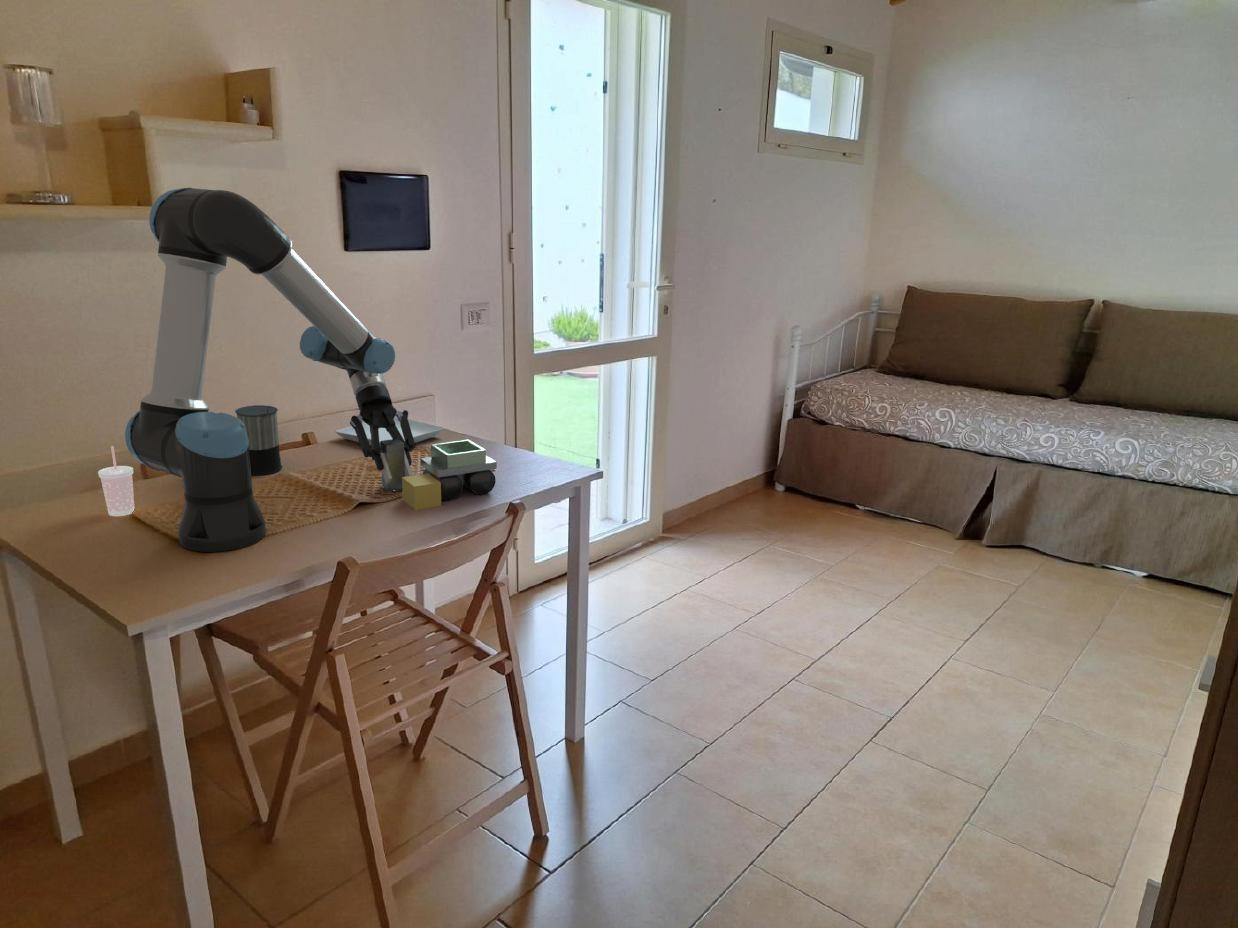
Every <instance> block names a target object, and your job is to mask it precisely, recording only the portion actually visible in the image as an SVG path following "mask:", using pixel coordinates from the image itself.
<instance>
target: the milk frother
mask: <svg viewBox="0 0 1238 928" xmlns="http://www.w3.org/2000/svg"><path fill="white" fill-rule="evenodd" d="M277 412H278V408H277V407H275V406H272V405H264V404H262V405H259V404H256V405H255V404H254V405H247V406H242V407H239V408H237V409H235V410H234V413H235V414H236V417H237V418H239V419H240V420H241V421H242V422H243V423H244V425H245V427H246V431H247V436H248V439H249V458H250V469H251V476H262V475H270V474H271V475H272V474H275V473H277V472H280V471H281V470H282V469H283V465H282V462H281V453H280V438H279V427H278V424H279V423H278V413H277Z"/></svg>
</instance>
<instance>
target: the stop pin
mask: <svg viewBox="0 0 1238 928" xmlns="http://www.w3.org/2000/svg"><path fill="white" fill-rule="evenodd" d="M380 444H381V448H380V454H381V453H384V454H385V457H386V461H387V464H388V467H389V470H390V473H391V476H392V480H391V482H390V484H386V482H385V479H384V476H383V473H382V472H381V484H382V485H381V486H383V487H384V488H385V489H386V490H388V491H393V490H399V491H402V477H405V459H404V443H403V442H401V441H400V440H399V439H392V440H384V441H380ZM383 487H382V488H383ZM384 488H383V489H384ZM385 489H384V490H385ZM386 490H385V491H386ZM388 491H387V492H388ZM393 492H394V491H393Z"/></svg>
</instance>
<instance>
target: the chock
mask: <svg viewBox="0 0 1238 928" xmlns="http://www.w3.org/2000/svg"><path fill="white" fill-rule="evenodd" d="M401 491H402V501H403V502H404V503H405V504H407V505H408V506H409V507H410V508H411V509H413V510H414V511H419V510H424V509H430V508H434V507H435V508H436V507H441V506H442V498H441V482H440V481H438V480H437V479H435V478H434V477H433V476H431V475H430V474H428V473H426V474H423V473H422V474H420V473H419V474H414V475H413V474H412V476H407V477H402V490H401Z"/></svg>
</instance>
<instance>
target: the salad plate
mask: <svg viewBox="0 0 1238 928" xmlns="http://www.w3.org/2000/svg"><path fill="white" fill-rule="evenodd" d="M393 420H394V422H395V425H396V427H397V429H398V430H399V432H400V434H401V436H402V437H403V439H404V436H403V433H402V429H401V425H400V421H398V418H397V417H396V416H395V417H394V419H393ZM408 422H409V425H410V429H411V432H412V436H413V439H414V442H415V444H416V443H417V444H418V443H420V442H423V441H426V440H428V439H431V438H433V437H436V436H438V435H440V434H441V433H442V432H443V431H444V430H445V427H443V426H440V425H435V424H432V423H427V422H424V421H420V420H416V419H412V418H408ZM362 425H363V427H364V430H365V433H366V436H367V439H368V441H369V444H370V447H372V443H371V433H370V426H369V425H368V424H366V423H365V422H364V421H362ZM378 431H379V443H380V441H384V440H392V437H391V436H390V434H389V432H387V430H386V429H385V428H379V429H378ZM335 433H336V434H337V435H338V436H340V437H341V438H343V439H345V440H349V441H353V442H356V443H359V440H358V437H357V434H356V432H355V429H354V428H353V427H352V426H351V425H350V426H346V427H342V428H339V429H336V430H335ZM404 441H405V439H404ZM380 449H381V444H380Z"/></svg>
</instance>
